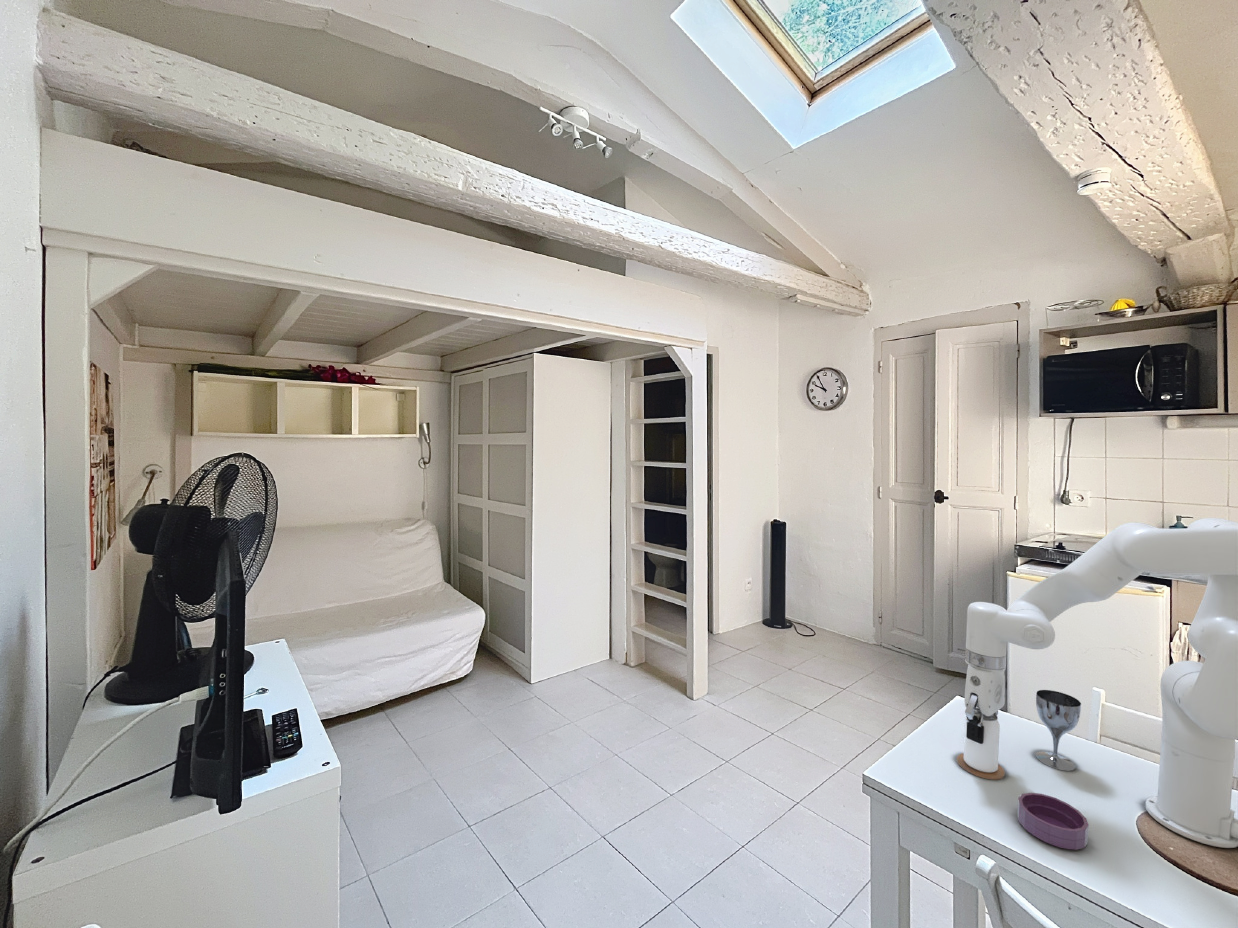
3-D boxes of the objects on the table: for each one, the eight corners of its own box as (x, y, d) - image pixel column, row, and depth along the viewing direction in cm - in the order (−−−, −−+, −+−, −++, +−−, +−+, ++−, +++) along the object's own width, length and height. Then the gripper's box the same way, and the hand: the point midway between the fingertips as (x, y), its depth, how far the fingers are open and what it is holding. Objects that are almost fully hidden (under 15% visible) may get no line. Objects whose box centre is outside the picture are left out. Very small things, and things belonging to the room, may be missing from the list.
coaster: (1011, 769, 118) (1011, 768, 118) (995, 784, 113) (995, 783, 113) (966, 750, 126) (966, 748, 126) (949, 763, 121) (949, 761, 121)
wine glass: (1073, 757, 123) (1077, 695, 122) (1080, 775, 116) (1084, 710, 116) (1031, 746, 127) (1034, 686, 127) (1035, 763, 121) (1038, 700, 120)
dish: (1094, 835, 99) (1095, 815, 99) (1077, 860, 93) (1078, 839, 93) (1028, 804, 107) (1029, 785, 107) (1009, 825, 101) (1010, 805, 101)
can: (1003, 775, 116) (1006, 722, 115) (971, 771, 117) (973, 719, 116) (989, 758, 122) (991, 708, 121) (958, 754, 123) (960, 705, 123)
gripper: (988, 674, 110) (984, 757, 111) (1019, 655, 120) (1015, 731, 121) (949, 661, 116) (946, 740, 117) (982, 644, 126) (978, 716, 127)
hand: (981, 734), depth 119 cm, fingers closed on can, 6 cm apart
